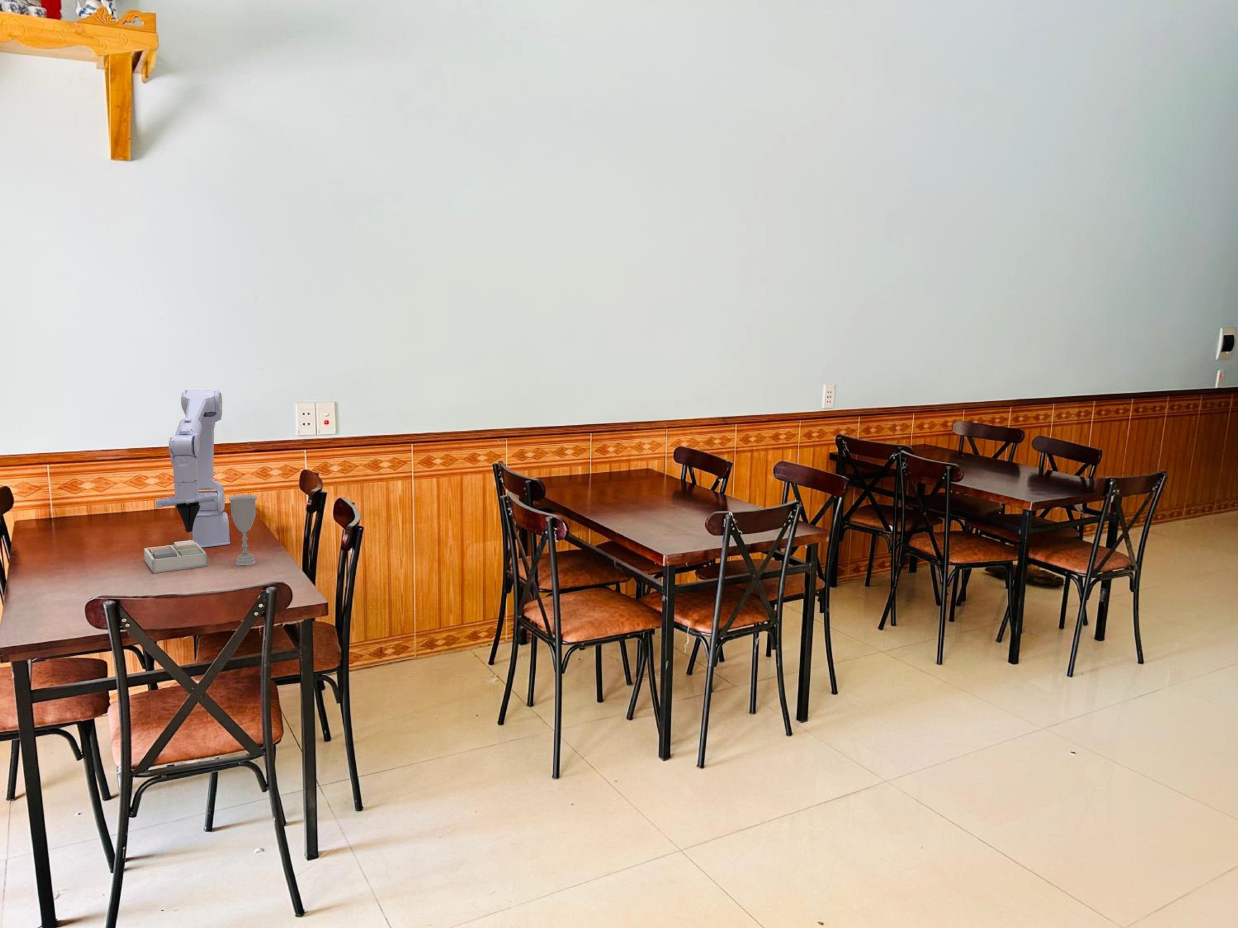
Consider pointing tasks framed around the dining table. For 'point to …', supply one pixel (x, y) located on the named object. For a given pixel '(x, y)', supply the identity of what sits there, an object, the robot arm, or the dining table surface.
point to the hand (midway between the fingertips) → (188, 531)
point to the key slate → (164, 553)
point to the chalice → (243, 522)
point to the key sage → (189, 552)
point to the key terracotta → (158, 548)
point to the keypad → (175, 560)
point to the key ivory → (184, 545)
